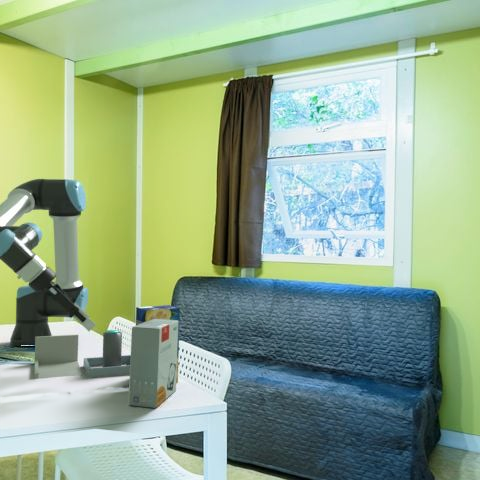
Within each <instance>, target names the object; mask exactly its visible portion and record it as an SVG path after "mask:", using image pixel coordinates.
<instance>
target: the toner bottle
mask: <svg viewBox="0 0 480 480" xmlns="http://www.w3.org/2000/svg"><path fill="white" fill-rule="evenodd" d="M122 341H123V332H122V331H120V330H119V329H108V330H105V331H104V332H103V336H102V357H103V366H101V367H113V366H122V364H121V356H122V354H123V353H122V348H123V346H122V344H123V342H122Z"/></svg>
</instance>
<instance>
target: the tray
mask: <svg viewBox="0 0 480 480" xmlns="http://www.w3.org/2000/svg"><path fill="white" fill-rule="evenodd" d="M130 359H131V354H127V355H125V354H123V355H121V366H113V367H102V366H103V356H97V357H84V358H83V368H84V371H85V373H86V376H87V378H88V379H91V378H93V379H94V378H104V377H114V376H126V375H130ZM99 366H100V367H99Z"/></svg>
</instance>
